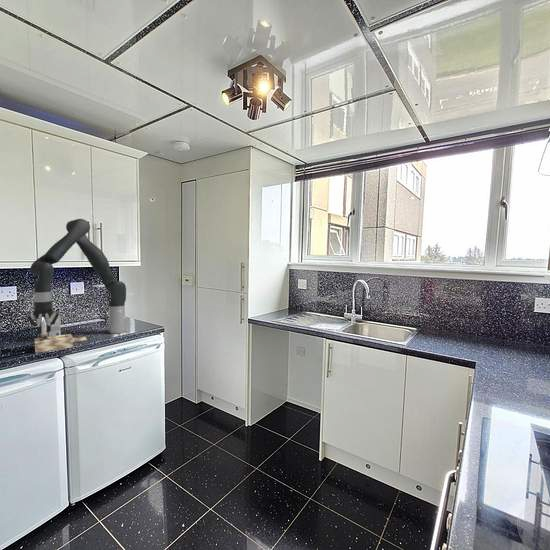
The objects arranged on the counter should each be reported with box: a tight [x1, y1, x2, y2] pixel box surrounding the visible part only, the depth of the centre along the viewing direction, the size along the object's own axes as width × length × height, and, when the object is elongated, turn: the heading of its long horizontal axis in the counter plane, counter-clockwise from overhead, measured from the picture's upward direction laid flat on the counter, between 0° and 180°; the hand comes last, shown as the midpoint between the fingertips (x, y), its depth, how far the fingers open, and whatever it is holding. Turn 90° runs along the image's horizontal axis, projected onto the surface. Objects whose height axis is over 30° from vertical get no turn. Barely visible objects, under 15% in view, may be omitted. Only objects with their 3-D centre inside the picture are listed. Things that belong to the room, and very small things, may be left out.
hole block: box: [34, 333, 74, 354], centre depth 161 cm, size 16×10×5 cm, turn 130°
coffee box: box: [47, 310, 62, 337], centre depth 177 cm, size 9×6×16 cm
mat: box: [73, 336, 88, 343], centre depth 176 cm, size 8×7×1 cm
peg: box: [40, 316, 48, 339], centre depth 158 cm, size 3×3×12 cm
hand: (44, 332), depth 158 cm, fingers closed on peg, 3 cm apart
